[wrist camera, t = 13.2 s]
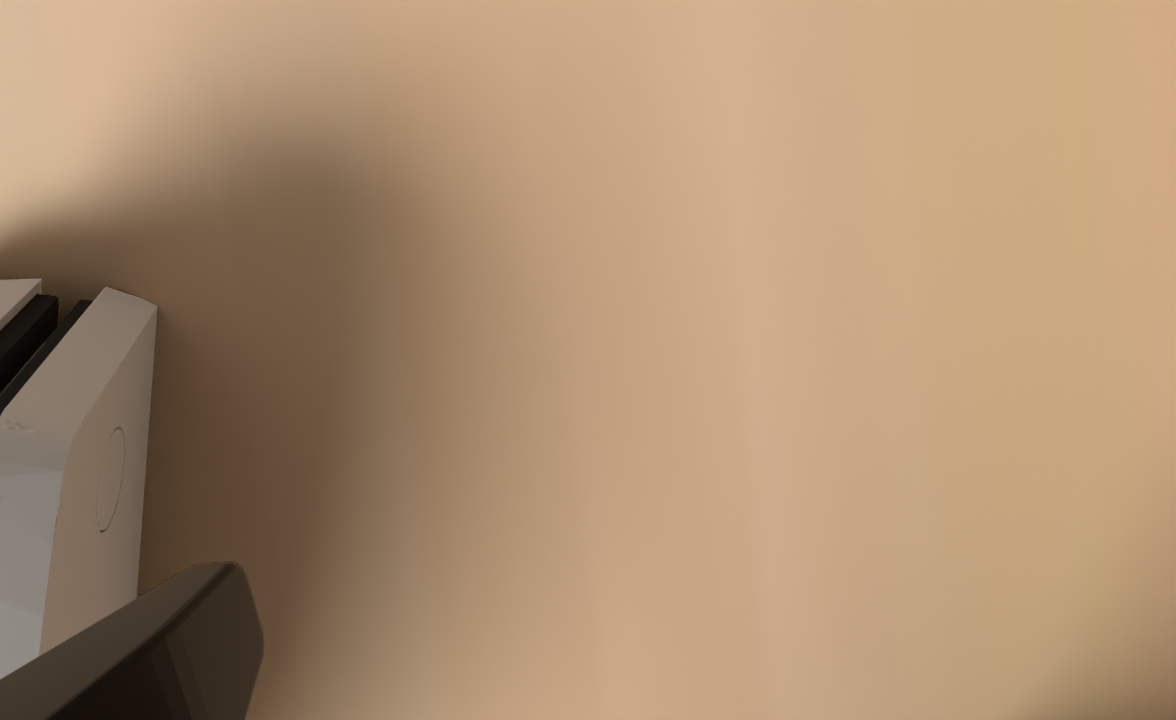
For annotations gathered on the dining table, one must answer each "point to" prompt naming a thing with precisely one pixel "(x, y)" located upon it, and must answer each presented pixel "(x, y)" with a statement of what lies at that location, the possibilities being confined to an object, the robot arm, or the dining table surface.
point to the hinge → (70, 462)
